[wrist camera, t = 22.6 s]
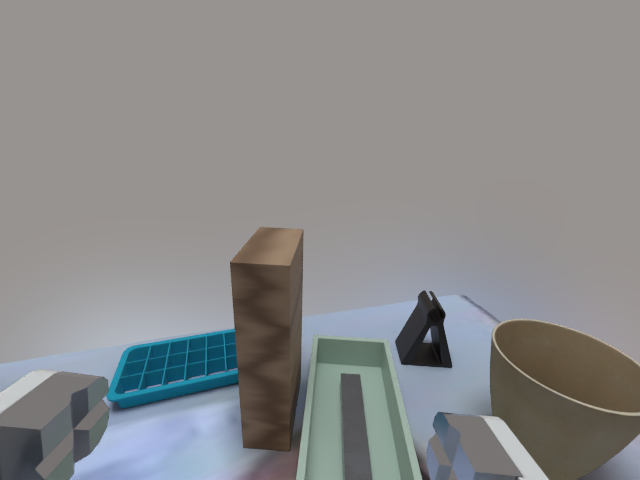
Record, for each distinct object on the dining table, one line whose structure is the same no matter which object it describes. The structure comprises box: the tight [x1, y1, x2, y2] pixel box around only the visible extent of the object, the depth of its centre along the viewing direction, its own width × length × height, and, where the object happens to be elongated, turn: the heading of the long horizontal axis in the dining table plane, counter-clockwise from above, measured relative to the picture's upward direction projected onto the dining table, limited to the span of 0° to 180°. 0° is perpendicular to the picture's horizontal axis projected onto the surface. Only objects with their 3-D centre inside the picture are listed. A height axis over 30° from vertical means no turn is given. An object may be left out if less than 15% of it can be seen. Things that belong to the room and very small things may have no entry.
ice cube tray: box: [106, 329, 239, 408], centre depth 50 cm, size 12×20×3 cm, turn 109°
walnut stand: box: [230, 227, 303, 451], centre depth 39 cm, size 6×12×26 cm, turn 177°
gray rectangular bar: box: [340, 373, 373, 480], centre depth 38 cm, size 3×19×2 cm, turn 178°
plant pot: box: [490, 319, 640, 480], centre depth 36 cm, size 15×15×16 cm
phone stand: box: [395, 291, 452, 368], centre depth 54 cm, size 9×6×12 cm, turn 86°
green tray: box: [296, 335, 422, 480], centre depth 38 cm, size 13×28×6 cm, turn 177°
